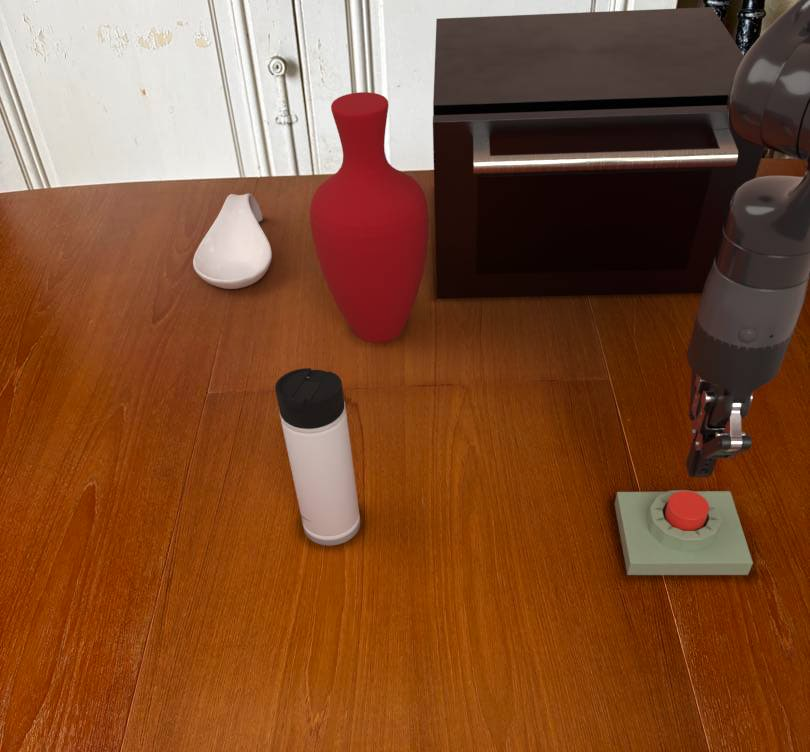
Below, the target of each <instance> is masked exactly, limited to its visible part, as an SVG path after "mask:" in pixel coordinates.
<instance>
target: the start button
mask: <svg viewBox="0 0 810 752" xmlns="http://www.w3.org/2000/svg"><path fill="white" fill-rule="evenodd" d="M690 491H691V490H690ZM690 491H680V492H677V493H674V494H673V495H672V496H671V497H670V498H669V500H668V504H667V507H666V511H665V517H666V519H667V521H668V522H669V523H670V524H671V525H672V526H673V527H675V528H678V529H680V530H684V531H693V530H697V529H699V528H701V527H702V526H703V525H704V523H705V521H706V518H707V515H708V512H709V504H708V502H707V501H706V499H705V498H704V497H702V496H701V495H699V494H697V493H694V492H690Z"/></svg>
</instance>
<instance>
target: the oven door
mask: <svg viewBox="0 0 810 752" xmlns="http://www.w3.org/2000/svg"><path fill="white" fill-rule="evenodd" d="M432 150H433V187H434V188H433V191H434V192H433V196H434V197H433V198H434V237H435V269H436V270H435V275H436V276H435V277H436V299H437V300H439V299H440V300H441V299H445V300H446V299H478V298H479V299H483V298H485V299H486V298H487V299H489V298H491V299H493V298H531V297H533V298H534V297H535V298H536V297H539V298H540V297H583V296H585V297H586V296H627V295H629V296H631V295H632V296H633V295H676V294H677V295H678V294H681V295H682V294H683V295H684V294H702V292H703V288H704V285H705V282H706V279H707V277H708V274H709V272H710V270H711V268H712V265H713V262H714V259H715V255H716V252H717V248H718V244H719V240H720V236H721V232H722V229H723V225H724V221H725V218H726V214H727V210H728V207H729V204H730V201H731V199H732V197H733V195H734V193H735V192H736V190H737V189H738V188H739V187H740V186H741V185H742V184H744V183H745V182H747V181H749V180H751V179H754V178H757V174H758V171H759V168H760V164H761V162H762V158H763V155H764V151H765V148H764V147H761V146H758V145H756V144H753V143H750V142H748V141H745V140H744V139H742V138H740V137H739V136H738V135H737V134H736V133H735V132H734V131H733V130H732V128H731V126H730V123H729V120H728V115H727V105H720V106H691V107H662V108H633V109H605V110H576V111H547V112H518V113H490V114H461V115H432Z"/></svg>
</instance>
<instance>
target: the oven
mask: <svg viewBox="0 0 810 752" xmlns="http://www.w3.org/2000/svg"><path fill="white" fill-rule="evenodd" d="M435 19H436V20H435V21H436V22H435V48H434V73H433V74H434V76H433V101H432V114H433V115H461V114H490V113H518V112H547V111H576V110H605V109H633V108H662V107H691V106H720V105H727V101H728V94H729V90H730V86H731V83H732V80H733V78H734V75H735V73H736V71H737V69H738V67H739V65H740V63H741V62H742V60H743V58H744V57H745V55H744V54H743V52H742V50H741V49H740V47H739V46H738V45H737V43H736V42H735V40H734V38H733V37H732V35H731V34H730V32H729V31H728V29H727V28H726V26H725V25H724V23H723V21H722V20H721V18H720V17H719V15H718V14H717V13H716V11H715V9H714V8H713V6H705V7H703V6H702V7H681V8H659V9H658V8H657V9H655V8H654V9H635V10H612V11H611V10H610V11H609V10H608V11H590V12H589V11H587V12H586V11H585V12H584V11H583V12H563V13H562V12H561V13H538V14H516V15H492V16H491V15H489V16H488V15H487V16H468V17H467V16H466V17H465V16H464V17H442V18H435ZM433 115H432V116H433Z"/></svg>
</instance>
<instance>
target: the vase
mask: <svg viewBox="0 0 810 752" xmlns="http://www.w3.org/2000/svg"><path fill="white" fill-rule="evenodd" d="M330 111H331V114H332V117H333V120H334V124H335V126H336V130H337V133H338V136H339V140H340V144H341V150H342V163H341V166H340V167H339V169H338V170H337V171H336V172H335V173H334V174H333V175H331V176H330V177H328V178H327V179H326V180H325V181H323V182H322V183H320V185H319V186H318V187H317V188H316V191H315V192H314V194H313V196H312V197H311V202H310V209H309V219H310V220H309V221H310V230H311V231H310V232H311V236H312V240H313V241H312V242H313V246H314V249H315V253H316V256H317V259H318V263H319V266H320V268H321V271H322V274H323V277H324V279H325V282H326V285H327V287H328V289H329V292H330V294H331V296H332V298H333V301H334V302H335V304H336V306H337V307H338V310H339V311H340V313H341V314H342V316H343V318H344V320H345V321H346V322H347V324H348V326H349V327H350V328H351V330H352V332H353V333H354V335H355V336H356V337H357V338H358V339H360V340H362V341H364V342H367V343H372V344H379V343H386V342H390V341H392V340H394V339H397V337H399V336H400V335H401V334H402V333H403V331H404V329H405V326H406V324H407V322H408V320H409V317H410V315H411V312H412V310H413V307H414V305H415V302H416V299H417V296H418V293H419V290H420V287H421V282H422V278H423V273H424V268H425V265H426V264H425V263H426V258H427V251H428V243H429V242H428V240H429V226H430V225H429V221H430V219H429V209H428V208H429V207H428V200H427V197H426V195H425V192H424V190H423V188H422V187H421V185H420V184H419V183H418V181H417V180H416V179H414V178H413V177H412V176H410V175H408V174H407V173H405V172H403V171H402V170H399V169H397V168H395V167H393V166H392V165H391V164H390V162H389V161H388V160H387V156H386V155H387V154H386V152H385V137H386V129H387V120H388V112H389V100H388V99H387V97H386V96H384V95H382V94H379V93H375V92H368V91H361V92H352V93H347V94H344V95H341V96H339V97H337V98H335V99H334V100H333V101H332V103H331V105H330Z"/></svg>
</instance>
